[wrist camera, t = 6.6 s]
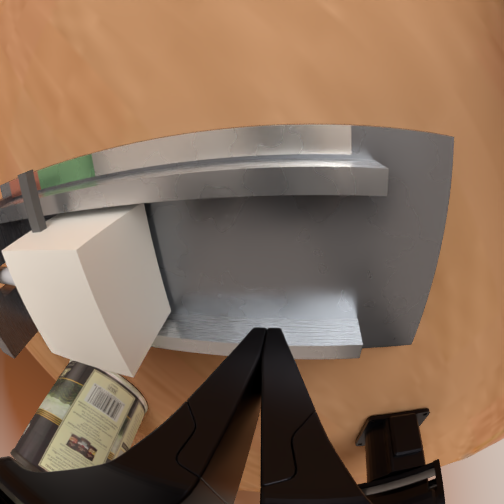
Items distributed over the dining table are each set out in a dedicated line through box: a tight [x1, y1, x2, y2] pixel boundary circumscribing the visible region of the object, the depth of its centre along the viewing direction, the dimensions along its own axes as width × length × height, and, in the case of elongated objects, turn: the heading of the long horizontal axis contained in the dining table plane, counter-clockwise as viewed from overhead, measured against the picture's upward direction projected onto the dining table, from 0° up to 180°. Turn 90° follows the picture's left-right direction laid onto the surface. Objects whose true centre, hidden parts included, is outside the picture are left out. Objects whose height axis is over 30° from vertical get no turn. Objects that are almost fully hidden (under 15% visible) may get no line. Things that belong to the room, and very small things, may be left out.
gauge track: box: [0, 124, 454, 359], centre depth 12 cm, size 12×28×7 cm, turn 95°
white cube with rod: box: [0, 170, 171, 377], centre depth 12 cm, size 9×15×5 cm, turn 95°
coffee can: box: [11, 360, 148, 472], centre depth 19 cm, size 10×10×14 cm
